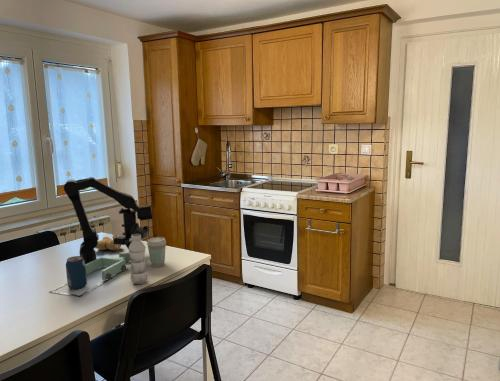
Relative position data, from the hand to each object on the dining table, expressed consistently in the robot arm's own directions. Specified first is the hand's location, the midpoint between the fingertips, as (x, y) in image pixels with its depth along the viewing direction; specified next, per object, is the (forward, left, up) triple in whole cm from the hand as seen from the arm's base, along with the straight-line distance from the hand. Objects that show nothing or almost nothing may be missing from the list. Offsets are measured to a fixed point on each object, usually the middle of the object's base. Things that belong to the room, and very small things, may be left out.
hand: (132, 253), depth 188 cm
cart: (0, -16, -2) cm, 16 cm away
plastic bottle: (+21, -25, -2) cm, 32 cm away
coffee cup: (+17, -5, -2) cm, 18 cm away
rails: (0, -28, -2) cm, 28 cm away
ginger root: (-19, +7, -2) cm, 21 cm away
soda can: (0, -36, -2) cm, 36 cm away
